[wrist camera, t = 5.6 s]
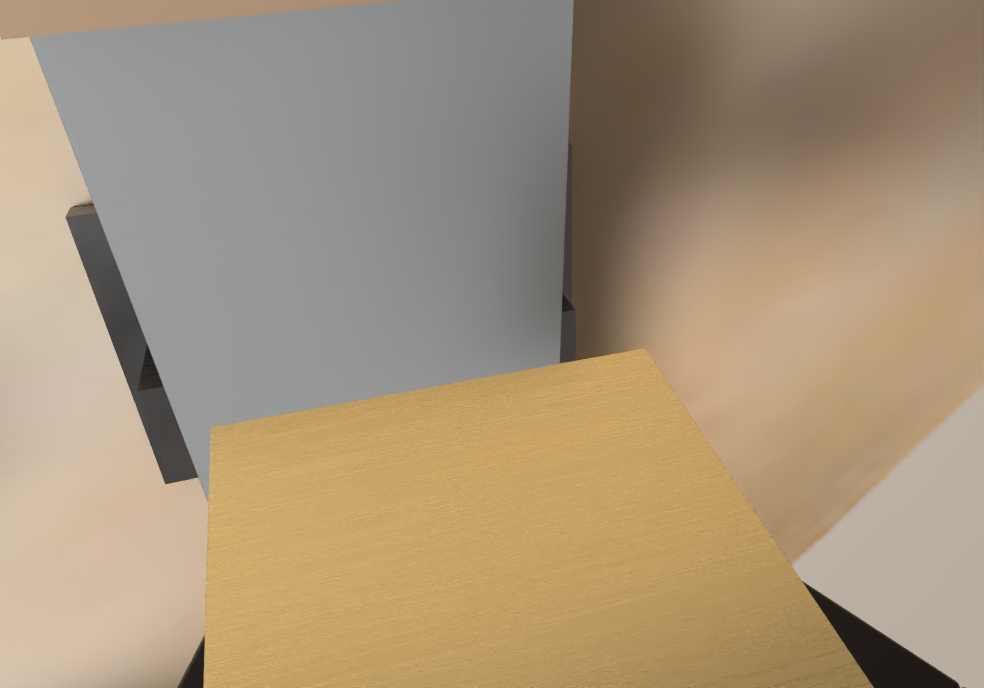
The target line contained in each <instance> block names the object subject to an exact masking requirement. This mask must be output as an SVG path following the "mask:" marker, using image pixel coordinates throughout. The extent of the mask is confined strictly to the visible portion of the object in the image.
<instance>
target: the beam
mask: <svg viewBox="0 0 984 688" xmlns="http://www.w3.org/2000/svg"><path fill="white" fill-rule="evenodd" d="M573 8H574V0H0V37H1V40H2V39H12V38H23V37H30V39H31V42H32V45H33V47H34V50H35V52H36V55H37V58H38V60H39V63H40V65H41V68H42V71H43V73H44V76H45V79H46V81H47V84H48V86H49V89H50V92H51V94H52V97H53V99H54V102H55V105H56V107H57V110H58V112H59V115H60V118H61V120H62V123H63V125H64V128H65V131H66V133H67V136H68V138H69V141H70V144H71V146H72V149H73V151H74V154H75V157H76V159H77V162H78V164H79V167H80V170H81V172H82V175H83V178H84V180H85V183H86V185H87V188H88V191H89V193H90V196H91V198H92V201H93V204H94V206H95V209H96V211H97V214H98V217H99V219H100V222H101V224H102V227H103V230H104V232H105V235H106V237H107V240H108V243H109V245H110V248H111V250H112V253H113V256H114V258H115V261H116V264H117V266H118V269H119V271H120V274H121V277H122V279H123V282H124V284H125V287H126V290H127V292H128V295H129V297H130V300H131V303H132V305H133V308H134V310H135V313H136V316H137V318H138V321H139V323H140V326H141V329H142V331H143V334H144V336H145V339H146V342H147V344H148V347H149V349H150V352H151V355H152V357H153V360H154V363H155V365H156V368H157V370H158V373H159V376H160V378H161V381H162V383H163V386H164V389H165V391H166V394H167V396H168V399H169V402H170V404H171V407H172V409H173V412H174V415H175V417H176V420H177V422H178V425H179V428H180V430H181V433H182V435H183V438H184V441H185V443H186V446H187V448H188V451H189V454H190V456H191V459H192V462H193V464H194V467H195V469H196V472H197V475H198V477H199V480H200V482H201V485H202V488H203V490H204V493H205V495H206V498H207V501H208V503H209V470H210V434H211V427H216V426H221V425H226V424H232V423H237V422H243V421H248V420H254V419H259V418H265V417H270V416H276V415H281V414H287V413H292V412H298V411H303V410H309V409H314V408H320V407H325V406H331V405H336V404H342V403H347V402H353V401H358V400H363V399H369V398H374V397H380V396H385V395H391V394H396V393H402V392H407V391H413V390H418V389H424V388H429V387H435V386H440V385H446V384H451V383H457V382H462V381H468V380H473V379H479V378H484V377H490V376H495V375H500V374H506V373H511V372H517V371H522V370H528V369H533V368H539V367H544V366H550V365H555V364H560V341H561V315H562V289H563V264H564V238H565V213H566V187H567V162H568V136H569V110H570V85H571V59H572V34H573Z"/></svg>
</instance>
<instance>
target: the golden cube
mask: <svg viewBox="0 0 984 688" xmlns="http://www.w3.org/2000/svg"><path fill="white" fill-rule="evenodd" d="M203 688H874V687H873V686H872V684H871V683H870V681H869V680H868V678H867V677H866V676H865V674H864V673H863V671H862V670H861V668H860V667H859V665H858V664H857V662H856V661H855V659H854V658H853V656H852V655H851V653H850V652H849V650H848V649H847V647H846V646H845V644H844V643H843V641H842V640H841V638H840V637H839V635H838V634H837V632H836V631H835V629H834V628H833V626H832V625H831V624H830V622H829V621H828V619H827V618H826V616H825V615H824V613H823V612H822V610H821V609H820V607H819V606H818V604H817V603H816V601H815V600H814V598H813V597H812V595H811V594H810V592H809V591H808V589H807V588H806V586H805V585H804V583H803V582H802V580H801V579H800V577H799V576H798V575H797V573H796V572H795V570H794V569H793V567H792V566H791V564H790V563H789V561H788V560H787V558H786V557H785V555H784V554H783V552H782V551H781V549H780V548H779V546H778V545H777V543H776V542H775V540H774V539H773V537H772V536H771V534H770V533H769V531H768V530H767V528H766V527H765V525H764V524H763V523H762V521H761V520H760V518H759V517H758V515H757V514H756V512H755V511H754V509H753V508H752V506H751V505H750V503H749V502H748V500H747V499H746V497H745V496H744V494H743V493H742V491H741V490H740V488H739V487H738V485H737V484H736V482H735V481H734V479H733V478H732V476H731V475H730V473H729V472H728V471H727V469H726V468H725V466H724V465H723V463H722V462H721V460H720V459H719V457H718V456H717V454H716V453H715V451H714V450H713V448H712V447H711V445H710V444H709V442H708V441H707V439H706V438H705V436H704V435H703V433H702V432H701V430H700V429H699V427H698V426H697V424H696V423H695V421H694V420H693V419H692V417H691V416H690V414H689V413H688V411H687V410H686V408H685V407H684V405H683V404H682V402H681V401H680V399H679V398H678V396H677V395H676V393H675V392H674V390H673V389H672V387H671V386H670V384H669V383H668V381H667V380H666V378H665V377H664V375H663V374H662V372H661V371H660V370H659V368H658V367H657V365H656V364H655V362H654V361H653V359H652V358H651V356H650V355H649V353H648V352H647V350H646V349H645V348H643V349H637V350H632V351H627V352H621V353H616V354H610V355H605V356H599V357H594V358H588V359H583V360H577V361H572V362H566V363H561V364H555V365H550V366H544V367H539V368H533V369H528V370H522V371H517V372H511V373H506V374H500V375H495V376H490V377H484V378H479V379H473V380H468V381H462V382H457V383H451V384H446V385H440V386H435V387H429V388H424V389H418V390H413V391H407V392H402V393H396V394H391V395H385V396H380V397H374V398H369V399H363V400H358V401H353V402H347V403H342V404H336V405H331V406H325V407H320V408H314V409H309V410H303V411H298V412H292V413H287V414H281V415H276V416H270V417H265V418H259V419H254V420H248V421H243V422H237V423H232V424H226V425H221V426H216V427H211V434H210V470H209V506H208V542H207V579H206V615H205V651H204V687H203Z"/></svg>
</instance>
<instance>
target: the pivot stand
mask: <svg viewBox="0 0 984 688" xmlns="http://www.w3.org/2000/svg"><path fill="white" fill-rule="evenodd" d="M66 220H67V222H68V225H69V228H70V230H71V233H72V236H73V238H74V241H75V244H76V246H77V249H78V252H79V254H80V257H81V260H82V262H83V265H84V268H85V270H86V273H87V276H88V278H89V281H90V284H91V286H92V289H93V292H94V294H95V297H96V300H97V303H98V305H99V308H100V311H101V313H102V316H103V319H104V321H105V324H106V327H107V329H108V332H109V335H110V337H111V340H112V343H113V345H114V348H115V351H116V353H117V356H118V359H119V361H120V364H121V367H122V369H123V372H124V375H125V377H126V380H127V383H128V385H129V388H130V391H131V393H132V396H133V399H134V401H135V404H136V407H137V409H138V412H139V415H140V417H141V420H142V423H143V425H144V428H145V431H146V433H147V436H148V439H149V441H150V444H151V447H152V449H153V452H154V455H155V457H156V460H157V463H158V465H159V468H160V471H161V474H162V476H163V479H164V482H165V484H169V483H174V482H178V481H183V480H188V479H193V478H197V477H198V475H197V472H196V469H195V467H194V464H193V462H192V459H191V456H190V454H189V451H188V448H187V446H186V443H185V441H184V438H183V435H182V433H181V430H180V428H179V425H178V422H177V420H176V417H175V415H174V412H173V409H172V407H171V404H170V402H169V399H168V396H167V394H166V391H165V389H164V386H163V383H162V381H161V378H160V376H159V373H158V370H157V368H156V365H155V363H154V360H153V357H152V355H151V352H150V349H149V347H148V344H147V342H146V339H145V336H144V334H143V331H142V329H141V326H140V323H139V321H138V318H137V316H136V313H135V310H134V308H133V305H132V303H131V300H130V297H129V295H128V292H127V290H126V287H125V284H124V282H123V279H122V277H121V274H120V271H119V269H118V266H117V264H116V261H115V258H114V256H113V253H112V250H111V248H110V245H109V243H108V240H107V237H106V235H105V232H104V230H103V227H102V224H101V222H100V219H99V217H98V214H97V211H96V209H95V206H94V204H93V205H86V206H78V207H71V208H70V210H69V212H68V213H67V215H66ZM572 361H575V309H574V307H573V306H572V305H571V145H570V144H569V143H568V162H567V187H566V213H565V238H564V264H563V289H562V315H561V341H560V364H561V363H566V362H572Z"/></svg>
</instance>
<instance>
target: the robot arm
mask: <svg viewBox="0 0 984 688" xmlns="http://www.w3.org/2000/svg"><path fill="white" fill-rule="evenodd" d="M802 582H803V581H802ZM803 583H804V582H803ZM804 585H805V586H806V588H807V589H808V591H809V592H810V594H811V595H812V597H813V598H814V600H815V601H816V603H817V604H818V606H819V607H820V609H821V610H822V612H823V613H824V615H825V616H826V618H827V619H828V621H829V622H830V624H831V625H832V626H833V628H834V629H835V631H836V632H837V634H838V635H839V637H840V638H841V640H842V641H843V643H844V644H845V646H846V647H847V649H848V650H849V652H850V653H851V655H852V656H853V658H854V659H855V661H856V662H857V664H858V665H859V667H860V668H861V670H862V671H863V673H864V674H865V676H866V677H867V678H868V680H869V681H870V683H871V684H872V686H873V687H874V688H960V686H959V684H958V683H957V682H956V681H955V680H953V679H952V678H950V677H948V676H947V675H946V674H944V673H942V672H941V671H939V670H938V669H936V668H935V667H933V666H932V665H930V664H929V663H927V662H925V661H924V660H923V659H921V658H919V657H918V656H916V655H915V654H913V653H912V652H910V651H909V650H907V649H906V648H904V647H902V646H901V645H899V644H898V643H896V642H895V641H893V640H892V639H890V638H889V637H887V636H886V635H884V634H883V633H881V632H879V631H878V630H876V629H875V628H873V627H872V626H870V625H869V624H867V623H866V622H864V621H863V620H861V619H860V618H858V617H856V616H855V615H853V614H852V613H850V612H849V611H847V610H846V609H844V608H842V607H841V606H839V605H838V604H837V603H835V602H833V601H832V600H830V599H829V598H827V597H826V596H824V595H823V594H821V593H820V592H818V591H817V590H815V589H813V588H812V587H810V586H809V585H807V584H806V583H804ZM204 651H205V635H204V637H203V639H202V641H201V643H200V645H199V647H198V649H197V651H196V653H195V655H194V656H193V658H192V660H191V662H190V664H189V666H188V668H187V670H186V672H185V674H184V676H183V678H182V680H181V682H180V683H179V685H178V687H177V688H203V687H204ZM962 688H965V687H962Z"/></svg>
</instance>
